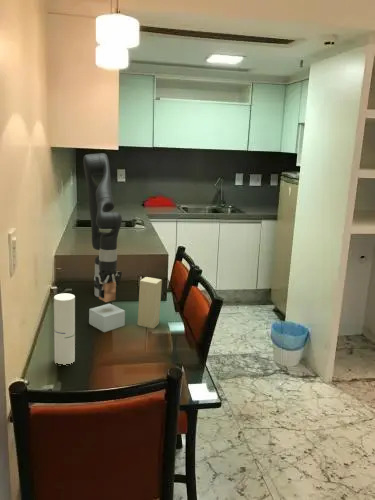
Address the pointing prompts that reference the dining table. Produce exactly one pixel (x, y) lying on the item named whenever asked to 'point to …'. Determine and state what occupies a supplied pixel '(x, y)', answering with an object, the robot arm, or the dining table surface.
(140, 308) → the tall beige block
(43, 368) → the dining table surface
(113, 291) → the terracotta block
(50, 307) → the dining table surface
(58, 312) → the cylindrical container
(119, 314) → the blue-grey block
